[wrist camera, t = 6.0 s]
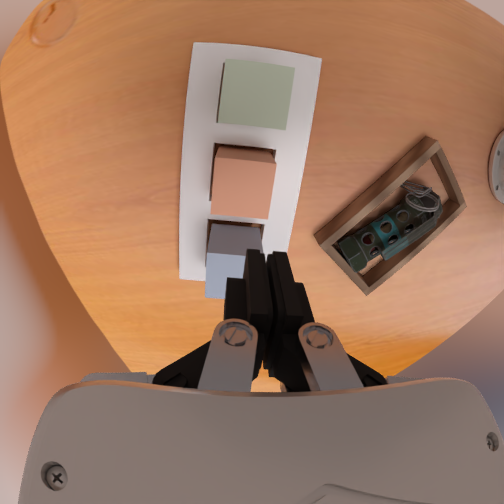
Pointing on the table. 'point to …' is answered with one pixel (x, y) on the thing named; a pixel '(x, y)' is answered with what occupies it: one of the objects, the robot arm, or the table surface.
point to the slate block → (228, 255)
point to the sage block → (255, 94)
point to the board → (210, 132)
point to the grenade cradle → (380, 193)
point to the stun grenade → (393, 228)
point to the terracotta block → (242, 182)
